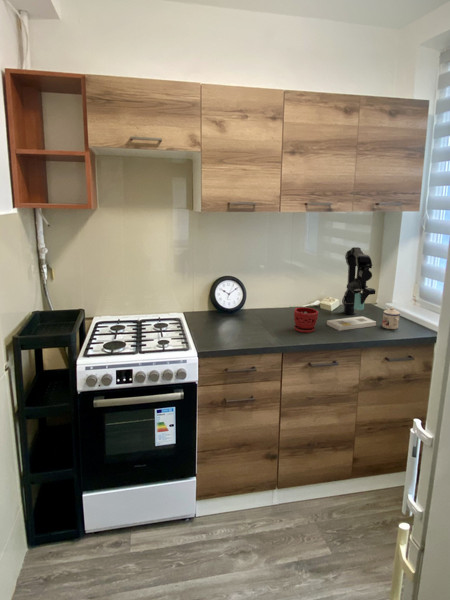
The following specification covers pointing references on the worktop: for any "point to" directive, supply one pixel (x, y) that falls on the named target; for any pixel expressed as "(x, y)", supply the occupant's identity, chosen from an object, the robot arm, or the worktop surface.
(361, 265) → the robot arm
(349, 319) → the panel
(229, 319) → the worktop surface
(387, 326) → the teacup with lid
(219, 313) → the worktop surface
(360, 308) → the plug
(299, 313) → the plant pot
